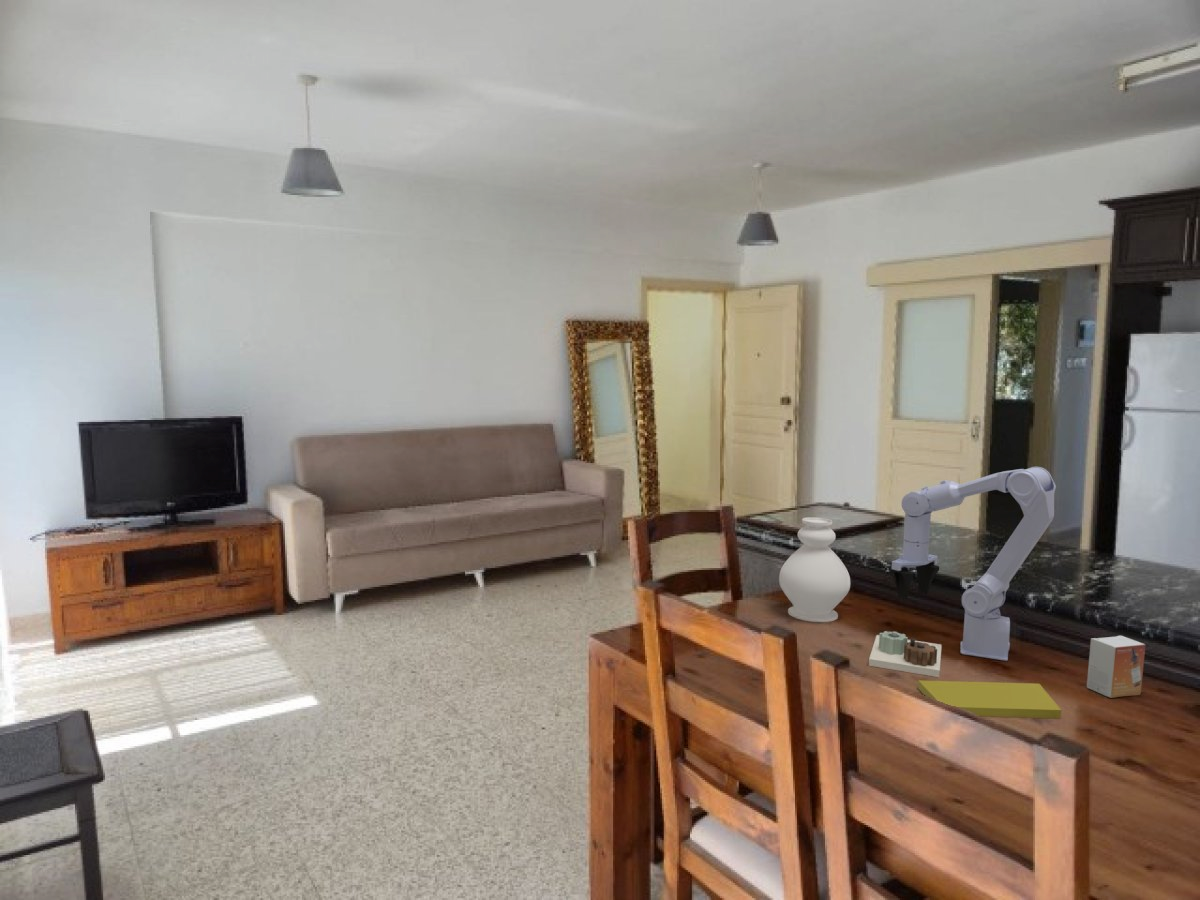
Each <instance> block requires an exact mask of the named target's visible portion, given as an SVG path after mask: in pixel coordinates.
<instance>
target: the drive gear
mask: <svg viewBox="0 0 1200 900" xmlns="http://www.w3.org/2000/svg"><path fill="white" fill-rule="evenodd" d="M909 640H910V642H908V643H907V644H905V645H904V658H905V661H907V662H912V664H915V665H917V664H919V665H922V666H927V665H931V666H933V665H934V663H936V662H937V649H936V647H935V646H930V645H929V644H927V643H928V642H927V643H920V642H915V641H916V638H914V637H910V639H909Z"/></svg>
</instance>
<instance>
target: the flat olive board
mask: <svg viewBox="0 0 1200 900" xmlns="http://www.w3.org/2000/svg"><path fill="white" fill-rule="evenodd" d="M917 682H918V683H917V689H918V690H919V691H920V693H922V695H926V696H928V697H931V698H933V699H935V700H937V701H940V702H943V703H945V704H948V705H951V706H956V707H959V708H962V709H965V710H967V711H970V712H972V713H974V714H976V715H979V716H978V717H990V718H991V717H992V716H996V717H997V718H1031V719H1032V718H1033V719H1034V718H1035V719H1037V718H1038V719H1062V709H1061V708H1060V706H1059V705H1058V704H1057V703H1056V702H1055V700H1054V699H1053V698H1052V697H1051V696H1050V695H1049V693H1048V692H1047V691H1046V689H1045V688H1043V686H1042V685H1041V684H1040V683H1034V682H1033V683H1032V682H1031V683H1029V682H1028V683H1026V682H995V681H994V682H990V681H987V682H986V681H956V680H954V681H953V680H952V681H951V680H950V681H949V680H948V681H947V680H920V679H919V680H918V681H917ZM1000 716H1001V717H1000ZM1002 716H1003V717H1002Z"/></svg>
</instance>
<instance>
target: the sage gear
mask: <svg viewBox="0 0 1200 900" xmlns="http://www.w3.org/2000/svg"><path fill="white" fill-rule="evenodd" d="M893 633H896V634H897V635H898V637H891V635H892V634H893ZM879 635H880V636H879V649H881V650H880V651H882V652H886V653H889V654H891V655H893V654H899V655H903V653H904V645H905V644H907V641H908V640H909V639H908V638H909V637H907V635H906V634H905V633H899V632H898V631H888V630H885V631H883V632H879Z"/></svg>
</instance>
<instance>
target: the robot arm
mask: <svg viewBox="0 0 1200 900" xmlns="http://www.w3.org/2000/svg"><path fill="white" fill-rule="evenodd" d="M1056 488H1057V485H1056V483H1055V481H1054V480H1053V477H1052V475H1051V473H1050V472H1049V471H1048V470H1047V469H1046V468H1044V467H1041V466H1031V467H1028V468H1026V469H1024V468H1019V469H1013V470H1005V471H1001V472H996V473H992V474H989V475H986V476H983V477H979V478H977V479H974V480H970V481H968V482H965V483H964V482H963V483H961V484H960V483H958V482H956V481H953V480H951V481H949V480H948V479H946V480H945V479H944V480H941V481H940V484H937V485H933V486H930V487H928V486H922V487H921V490H916V491H910V492H908V493H907V494H905V495H903V497H902V499H901V508H902V510H903V512H904V513H905V514H904V515H905V516H904V525H903V526H904V528H903V542H902V545H903V546H902V554H900V555H899V556H898V559H897V558H896V559H895V560H892V561H891V566H890V567H889V573H890V574H891V576H892V578H893V580H894V584H895V587H896V592H897V597H898V599H899V598H900V599H903V600H908V598H909V594H910V587H911V582H912V580H913V578H914V575H915V572H912V571H909V568H915V571H916V574H917V590H918V593H919V594H921V595H925V596H928V594H929V592H930V588H931V586H932V583H933V581H934V578H935V577H936V575H937V574H938V572H939V571H940V566H939V565H937V564H938V557H939V556H938V555H934V554H931V553H930V552H929V549H930V534H931V519H932V518H931V517H932V515H931V514H932V513H933V512H939V511H941V510H946V509H949V508H953V507H956V506H960V505H962V503H963V502H964V500H965V498H966V497H967V498H968V497H971V496H974V495H978V494H983V493H987V492H990V491H999V492H1002V493H1004V494H1005V493H1010V495H1011V496H1012V497H1013V498H1014V499H1015V501H1016V502H1017V503H1018V505H1019V506H1020V509H1021V511H1022V514H1023V517H1022V519H1021V520H1020V521H1019V523H1018V525H1017V526H1016V528H1015V529H1014V530H1013V532H1012V533H1011V535H1010V536H1009V538H1008V540H1007V541H1006V542H1005V544H1004V545H1003V547H1002V548H1001V549H1000V551H999V552H998V555H997V556H996V558H994V560H993V562H992V563H991V564H990V566H989V568H988V569H987V571H986V572H985V573H984V574H983V575H982V576H981V577H980V578H979V579H978V580H977V581H976V582H975V583H974V585H973V586H972V587H971V588H968V589H966V590H964V592H963V594H962V595H961V606H962V607H963V608H964V609H963V610H964V621H963V635H962V636H963V637H962V641H960V654H962V655H966V656H973V657H979V658H985V659H992V660H998V661H999V660H1000V661H1005V662H1007V661H1008V659H1009V651H1010V647H1011V642H1010V634H1011V633H1010V632H1011V620H1010V617H1008V616H1002V615H1001V611H1000V608H1001V607H1002V606H1003V605H1004V603H1005V601H1006V594H1007V593H1006V592H1007V591H1008V590H1009V588H1010V582H1011V581H1012V579H1013V577H1015V575H1016V573H1017V572H1018V571H1019V569H1020V567H1022V565H1023V563H1024V562H1025V560H1026V559H1027V558H1028V556H1029V554H1030V553H1031V552H1032V550H1033V549H1034V547H1035V546H1036V545H1037V543H1038V542H1039V540H1040V539H1041V537H1042V536H1043V535H1044V533H1045V531H1047V529H1048V527H1049V526H1050V525H1051V523H1052V521H1053V520H1054V518H1055V492H1056Z"/></svg>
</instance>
